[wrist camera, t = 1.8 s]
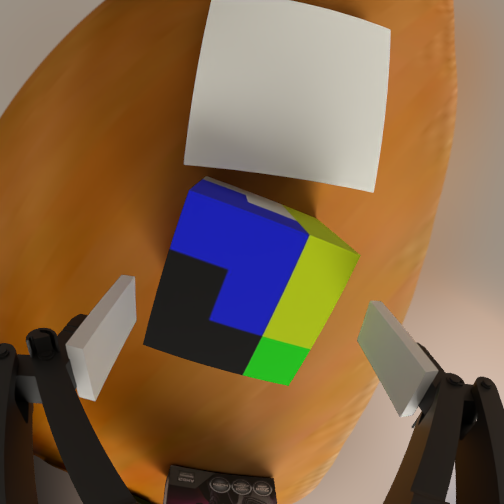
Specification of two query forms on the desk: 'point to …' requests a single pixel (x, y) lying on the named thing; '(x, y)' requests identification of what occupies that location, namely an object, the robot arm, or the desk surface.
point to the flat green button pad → (140, 500)
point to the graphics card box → (216, 488)
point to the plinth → (290, 93)
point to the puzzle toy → (247, 283)
